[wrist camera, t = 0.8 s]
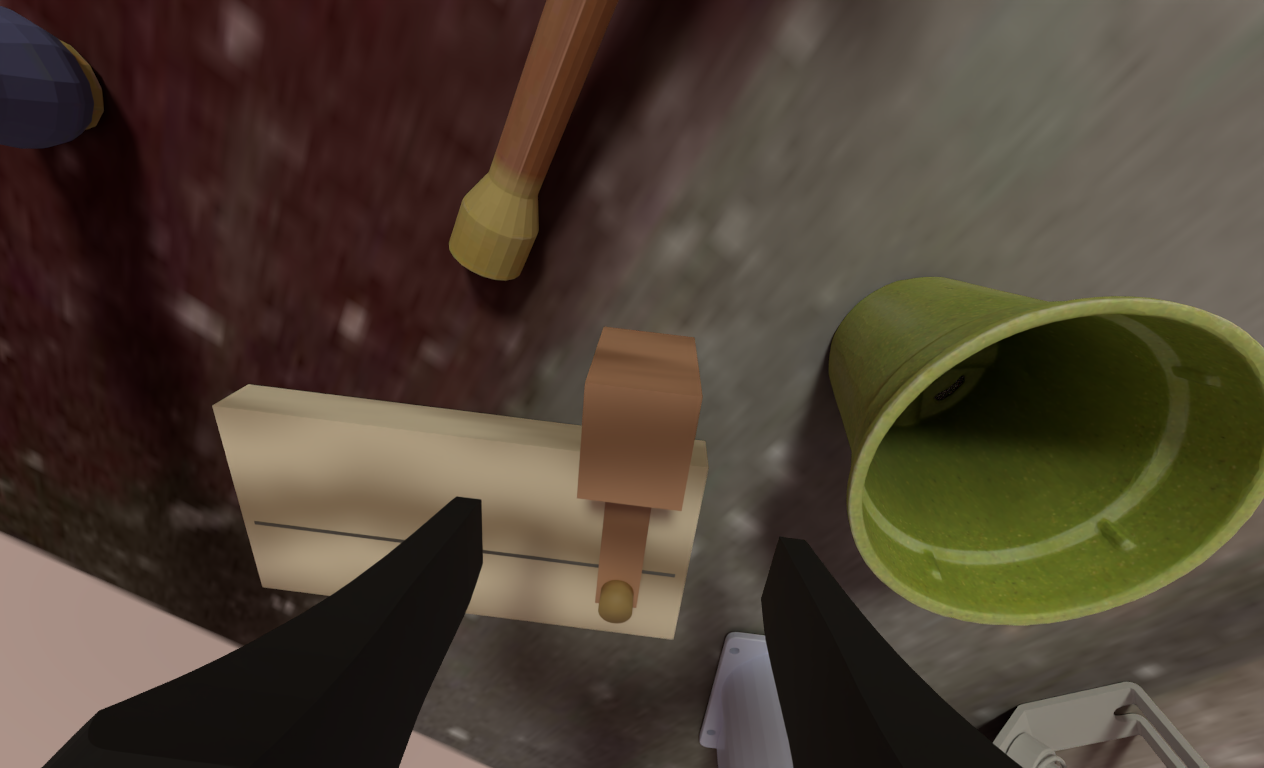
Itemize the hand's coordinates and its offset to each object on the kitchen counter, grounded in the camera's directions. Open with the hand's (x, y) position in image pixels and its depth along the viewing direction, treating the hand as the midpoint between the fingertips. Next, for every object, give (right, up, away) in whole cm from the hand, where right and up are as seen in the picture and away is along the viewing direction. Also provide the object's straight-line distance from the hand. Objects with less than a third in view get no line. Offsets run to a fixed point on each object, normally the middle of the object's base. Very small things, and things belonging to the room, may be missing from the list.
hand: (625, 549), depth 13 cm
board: (-7, -2, +12) cm, 14 cm away
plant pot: (+11, +5, +8) cm, 14 cm away
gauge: (0, +1, +10) cm, 10 cm away
